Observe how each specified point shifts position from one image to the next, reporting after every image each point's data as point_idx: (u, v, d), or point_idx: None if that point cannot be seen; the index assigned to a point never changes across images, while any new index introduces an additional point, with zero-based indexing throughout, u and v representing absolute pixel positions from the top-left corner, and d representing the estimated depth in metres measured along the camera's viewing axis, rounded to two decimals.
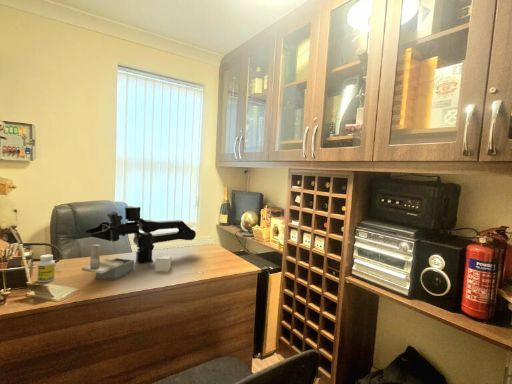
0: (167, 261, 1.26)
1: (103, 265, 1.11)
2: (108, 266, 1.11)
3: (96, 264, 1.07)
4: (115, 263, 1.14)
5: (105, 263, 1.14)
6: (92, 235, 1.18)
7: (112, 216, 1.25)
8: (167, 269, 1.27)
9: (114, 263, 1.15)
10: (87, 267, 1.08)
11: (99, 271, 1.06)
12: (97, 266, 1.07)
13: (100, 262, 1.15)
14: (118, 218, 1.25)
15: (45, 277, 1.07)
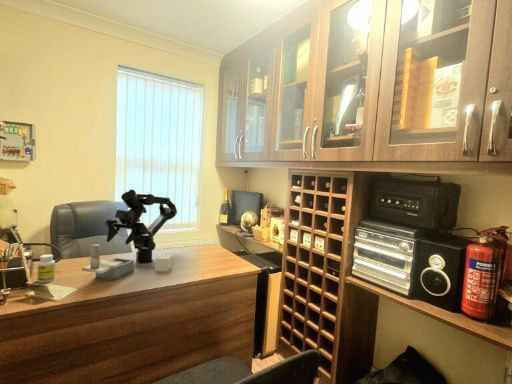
0: (167, 261, 1.26)
1: (103, 265, 1.11)
2: (108, 266, 1.11)
3: (96, 264, 1.07)
4: (115, 263, 1.14)
5: (105, 263, 1.14)
6: (127, 243, 1.18)
7: (125, 216, 1.19)
8: (167, 269, 1.27)
9: (114, 263, 1.15)
10: (87, 267, 1.08)
11: (99, 271, 1.06)
12: (97, 266, 1.07)
13: (100, 262, 1.15)
14: (131, 214, 1.21)
15: (45, 277, 1.07)
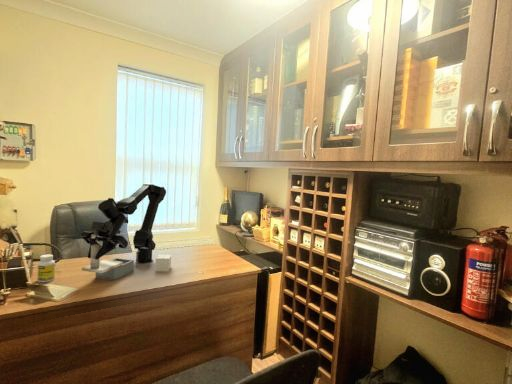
0: (167, 261, 1.26)
1: (103, 265, 1.11)
2: (108, 266, 1.11)
3: (96, 264, 1.07)
4: (115, 263, 1.14)
5: (105, 263, 1.14)
6: (97, 257, 1.06)
7: (101, 228, 1.07)
8: (167, 269, 1.27)
9: (114, 263, 1.15)
10: (87, 267, 1.08)
11: (99, 271, 1.06)
12: (97, 266, 1.07)
13: (100, 262, 1.15)
14: (109, 226, 1.08)
15: (45, 277, 1.07)
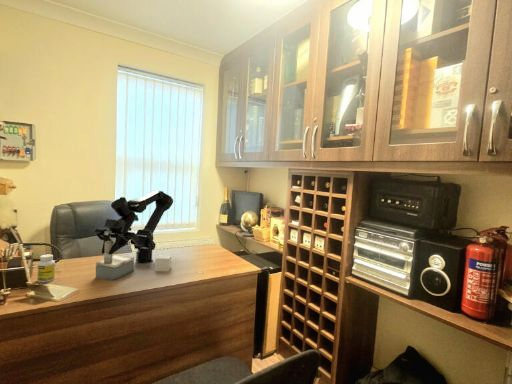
0: (167, 261, 1.26)
1: (115, 260, 1.18)
2: (120, 261, 1.17)
3: (109, 259, 1.14)
4: (126, 258, 1.21)
5: (117, 258, 1.21)
6: (110, 253, 1.13)
7: (114, 225, 1.14)
8: (167, 269, 1.27)
9: (125, 258, 1.21)
10: (101, 262, 1.15)
11: (113, 265, 1.12)
12: (110, 261, 1.14)
13: (112, 257, 1.21)
14: (122, 223, 1.15)
15: (45, 277, 1.07)
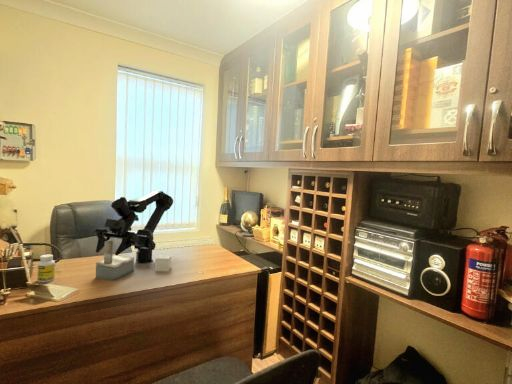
0: (167, 261, 1.26)
1: (115, 260, 1.18)
2: (120, 261, 1.17)
3: (109, 259, 1.14)
4: (126, 258, 1.21)
5: (117, 258, 1.21)
6: (117, 253, 1.12)
7: (115, 225, 1.14)
8: (167, 269, 1.27)
9: (125, 258, 1.21)
10: (101, 262, 1.15)
11: (113, 265, 1.12)
12: (110, 261, 1.14)
13: (112, 257, 1.21)
14: (122, 223, 1.15)
15: (45, 277, 1.07)
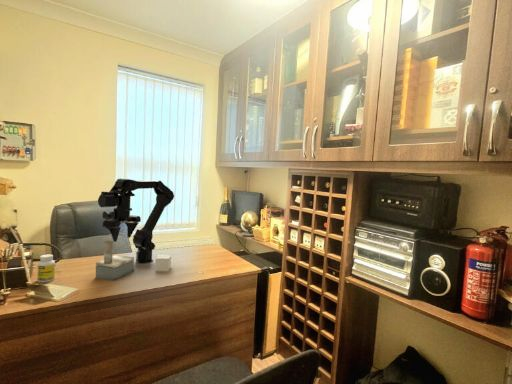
0: (167, 261, 1.26)
1: (115, 260, 1.18)
2: (120, 261, 1.17)
3: (109, 259, 1.14)
4: (126, 258, 1.21)
5: (117, 258, 1.21)
6: (114, 240, 1.23)
7: (106, 219, 1.26)
8: (167, 269, 1.27)
9: (125, 258, 1.21)
10: (101, 262, 1.15)
11: (113, 265, 1.12)
12: (110, 261, 1.14)
13: (112, 257, 1.21)
14: (104, 215, 1.24)
15: (45, 277, 1.07)
